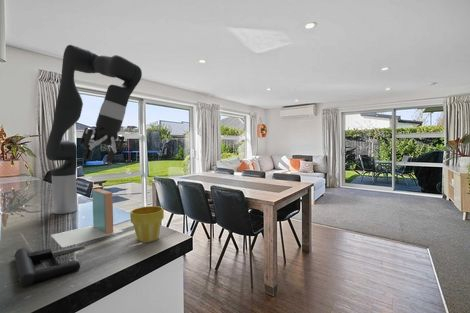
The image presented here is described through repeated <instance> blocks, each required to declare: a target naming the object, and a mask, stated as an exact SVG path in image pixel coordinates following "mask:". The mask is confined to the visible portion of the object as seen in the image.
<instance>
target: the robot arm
mask: <svg viewBox="0 0 470 313" xmlns="http://www.w3.org/2000/svg"><path fill="white" fill-rule="evenodd" d="M64 48H65V49H64V51H63V56H62V64H61V65H62V66H61V75H60V85H59V90H58V93H57V98H56V102H55V108H54V115H53V120H52V126H51V130H50V133H49V136H48V139H47V143H46V146H45V155H46V158H47V159H48V160H49V161H52V162H53V161H54V162H56V161H64V163H63V164H62V165H60V166H58V167H55V168H52V169H51V189H52V190H51V192H52V193H51V194H52V195H51V196H52V213H53V214H54V215H63V214H70V213H74V212H77V211H78V193H77V167H78V166H77V165H78V164H77V163H78V147H77V143H76V142H75V141H74V140H66V139H65V140H63V137H64V135H65V134H66V132H68V130H70V129H71V128H72V127H73V126H74V125H75V124H76V123H77V122H78V121H79V120H80V118H81V116H82V111H83V106H84V103H83V98H82V96H81V94H80V92H79V91H78V88H77V86H76V84H75V83H76V82H75V72H76V71H77V72H81V73H84V74H100V75H102V76H106V77H110V78H116V79H119V80H121V81H123V83H122V84H121V85H117V84H109V86H108V87H107V90H106V93H105V95H104V100H103V102H102V103H101V107H100V109H99V112H98V116H97V120H96V122H95V129H92V128H89V127H85V128H84V131H83V133H82V135H81V138H80V141H79V145H80V146H82V147H83V148H84V150H83V153H82V159H83V160H84V161H90V159H91V156H92V152H93V149H95V148H96V147H97V146H99V145H102V146H103V145H105V146H107V147H108V153H107V155H106V159H105V161H106V162H107V163H112V162H113V161H114V158H115V155H116V153H118V152H119V153H120V152H122V149H123V145H124V141H125V136H123V135H121V134H118V133H120V131H121V129H122V128H121V127H122V125H123V123H124V122H123V121H124V118H125V115H126V111H127V110H126V109H127V106H128V102H129V99H130V97H131V95H132V93H133V92H134V90H135V89H136V88H137V86H138V85H139V83H140V81H141V79H142V75H143V72H142V69H141V67H140V66H139V65H138V64H136V63H134V62H133V61H130V60H129V59H127V58H126V57H124V56H121V55H117V54H114V55H111V56H109V55H97V54H96V53H95V52H93V51H90V50H89V49H85V48H82V47H78V46H76V45H73V44H68V45H67V46H66V47H64Z"/></svg>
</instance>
